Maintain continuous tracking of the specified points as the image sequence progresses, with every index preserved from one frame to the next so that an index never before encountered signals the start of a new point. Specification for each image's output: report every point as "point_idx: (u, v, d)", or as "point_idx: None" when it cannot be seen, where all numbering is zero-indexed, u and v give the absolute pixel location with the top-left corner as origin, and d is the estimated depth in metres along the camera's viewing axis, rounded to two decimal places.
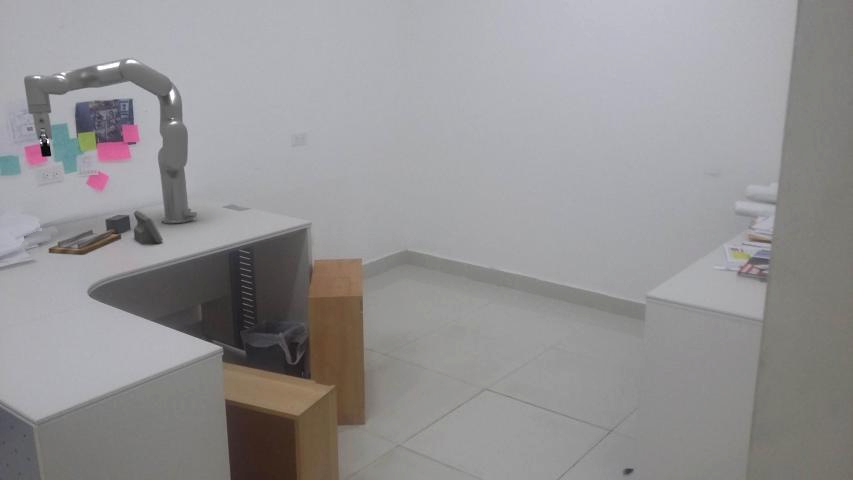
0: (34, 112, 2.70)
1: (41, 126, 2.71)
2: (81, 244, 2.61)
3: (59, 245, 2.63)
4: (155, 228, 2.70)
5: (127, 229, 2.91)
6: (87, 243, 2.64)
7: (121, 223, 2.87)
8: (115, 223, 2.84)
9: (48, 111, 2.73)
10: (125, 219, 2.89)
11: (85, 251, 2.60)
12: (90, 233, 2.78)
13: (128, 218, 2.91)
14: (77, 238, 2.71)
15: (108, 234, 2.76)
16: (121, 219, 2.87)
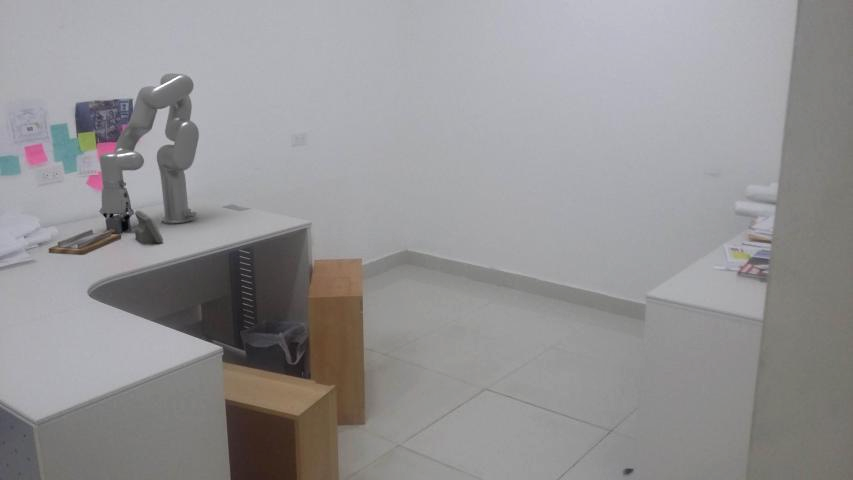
0: (118, 188, 2.82)
1: (126, 200, 2.85)
2: (81, 244, 2.61)
3: (59, 245, 2.63)
4: (155, 228, 2.70)
5: None
6: (87, 243, 2.64)
7: None
8: (115, 223, 2.84)
9: None
10: None
11: (85, 251, 2.60)
12: (90, 233, 2.78)
13: None
14: (77, 238, 2.71)
15: (108, 234, 2.76)
16: (121, 219, 2.86)
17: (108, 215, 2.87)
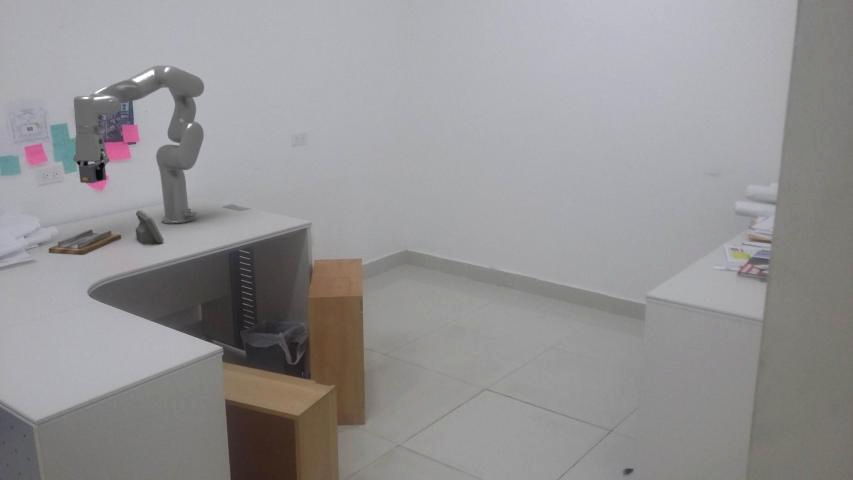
0: (92, 133, 2.66)
1: (101, 147, 2.69)
2: (81, 244, 2.61)
3: (59, 245, 2.63)
4: (156, 228, 2.70)
5: None
6: (87, 243, 2.64)
7: (95, 171, 2.70)
8: (88, 170, 2.68)
9: None
10: None
11: (85, 251, 2.60)
12: (90, 233, 2.78)
13: None
14: (77, 238, 2.71)
15: (108, 234, 2.76)
16: (95, 167, 2.70)
17: (82, 163, 2.71)
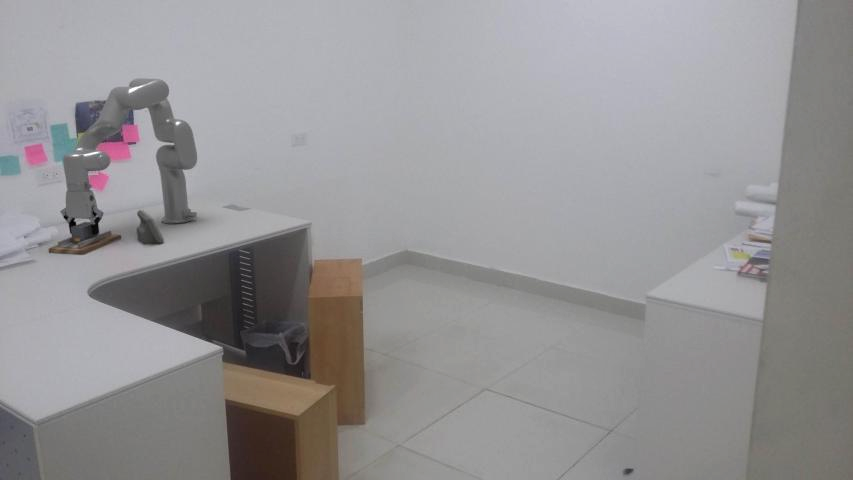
0: (83, 190, 2.63)
1: (92, 203, 2.65)
2: (81, 244, 2.61)
3: (59, 245, 2.63)
4: (156, 228, 2.70)
5: None
6: (87, 243, 2.64)
7: (87, 231, 2.67)
8: (80, 231, 2.65)
9: None
10: None
11: (85, 251, 2.60)
12: None
13: None
14: None
15: (108, 234, 2.76)
16: (87, 227, 2.67)
17: (70, 218, 2.68)
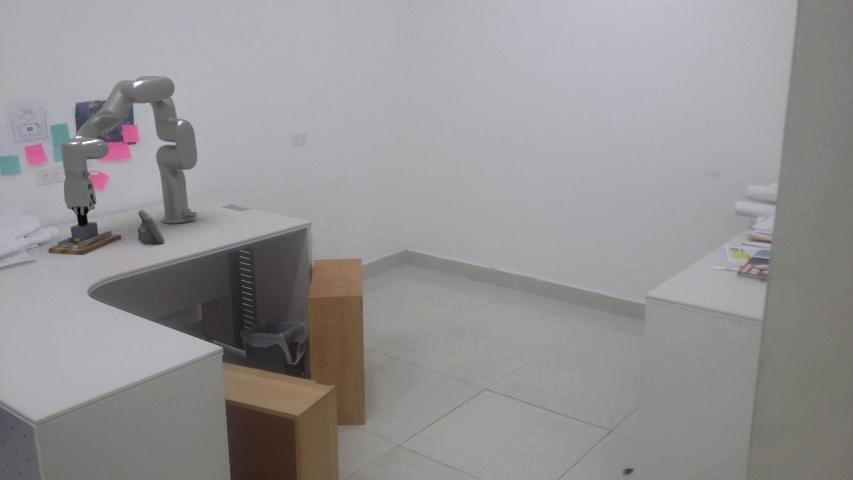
0: (81, 179, 2.62)
1: (90, 192, 2.64)
2: (81, 244, 2.61)
3: (59, 245, 2.63)
4: (156, 228, 2.70)
5: None
6: (87, 243, 2.64)
7: (87, 231, 2.67)
8: (80, 231, 2.65)
9: None
10: (92, 227, 2.70)
11: (85, 251, 2.60)
12: None
13: (95, 226, 2.72)
14: None
15: (108, 234, 2.76)
16: (87, 227, 2.67)
17: (75, 208, 2.66)
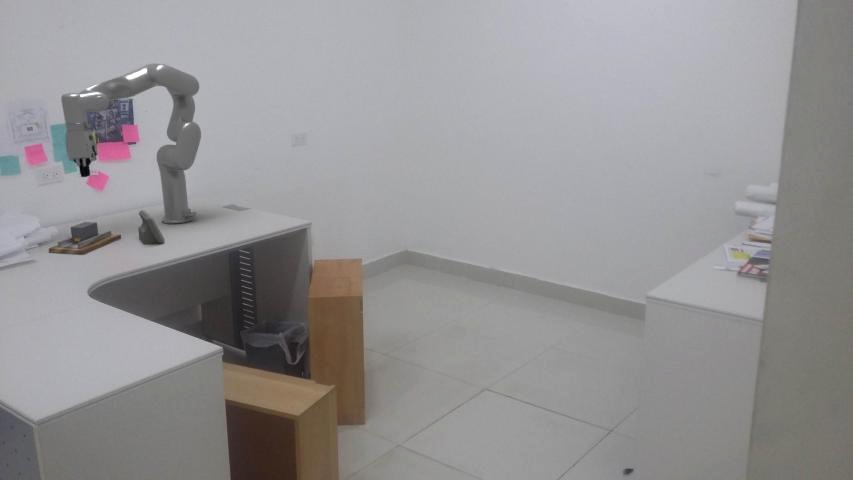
0: (82, 130, 2.68)
1: (91, 143, 2.70)
2: (81, 244, 2.61)
3: (59, 245, 2.63)
4: (157, 228, 2.69)
5: None
6: (87, 243, 2.64)
7: (87, 231, 2.67)
8: (80, 231, 2.65)
9: None
10: (92, 227, 2.70)
11: (85, 251, 2.60)
12: None
13: (95, 226, 2.72)
14: None
15: (108, 234, 2.76)
16: (87, 227, 2.67)
17: (77, 160, 2.72)
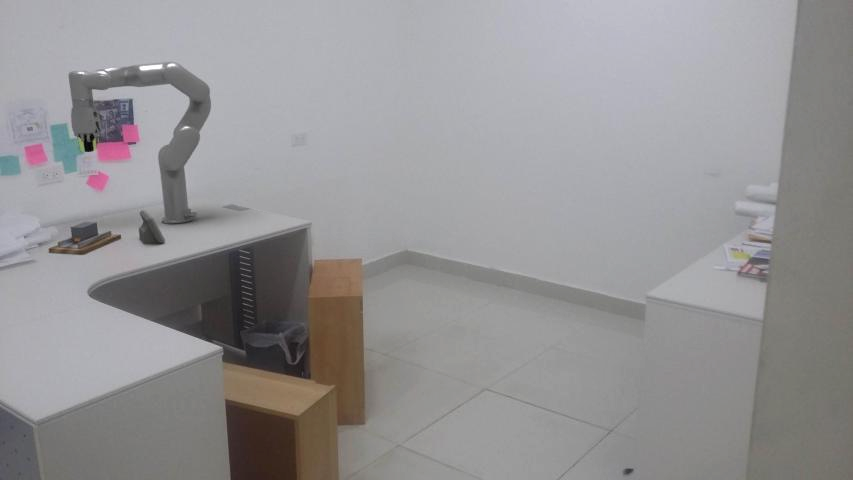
0: (87, 106, 2.79)
1: (96, 119, 2.82)
2: (81, 244, 2.61)
3: (59, 245, 2.63)
4: (157, 228, 2.69)
5: None
6: (87, 243, 2.64)
7: (87, 231, 2.67)
8: (80, 231, 2.65)
9: None
10: (92, 227, 2.70)
11: (85, 251, 2.60)
12: None
13: (95, 226, 2.72)
14: None
15: (108, 234, 2.76)
16: (87, 227, 2.67)
17: (82, 135, 2.84)
